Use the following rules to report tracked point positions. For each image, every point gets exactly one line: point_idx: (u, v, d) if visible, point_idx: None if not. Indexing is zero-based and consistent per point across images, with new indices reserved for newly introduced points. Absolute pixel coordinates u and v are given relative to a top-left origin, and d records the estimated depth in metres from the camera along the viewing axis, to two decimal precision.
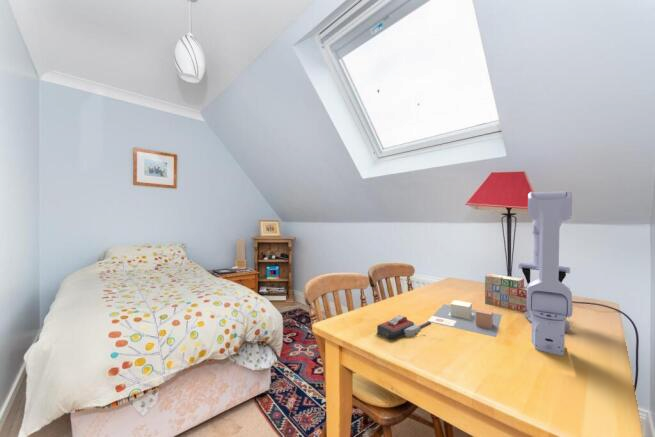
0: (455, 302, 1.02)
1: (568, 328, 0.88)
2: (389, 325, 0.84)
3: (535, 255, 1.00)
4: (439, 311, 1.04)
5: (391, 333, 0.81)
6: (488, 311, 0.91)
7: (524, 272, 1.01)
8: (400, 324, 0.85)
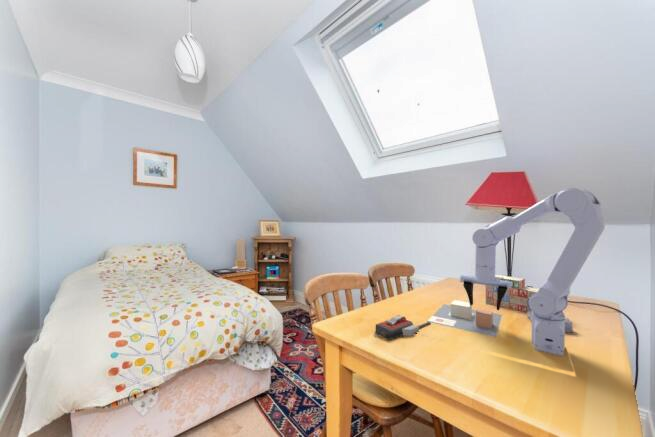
0: (455, 302, 1.02)
1: (571, 328, 0.88)
2: (387, 324, 0.85)
3: (476, 268, 0.91)
4: (439, 311, 1.04)
5: (388, 332, 0.81)
6: (488, 311, 0.91)
7: (465, 286, 0.92)
8: (398, 324, 0.85)
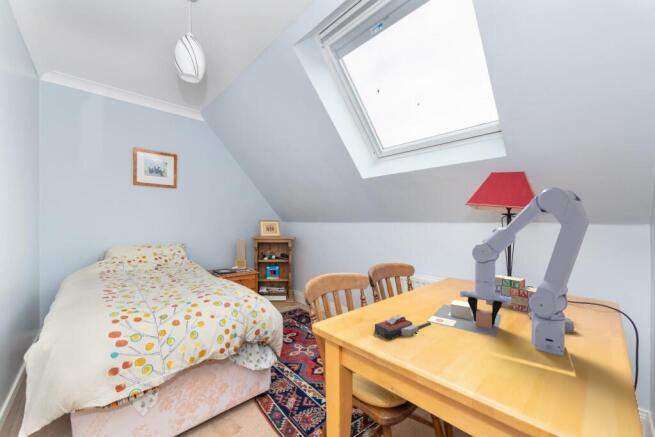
0: (455, 302, 1.02)
1: (572, 328, 0.88)
2: (386, 324, 0.85)
3: (476, 283, 0.91)
4: (439, 311, 1.04)
5: (387, 332, 0.82)
6: (488, 311, 0.91)
7: (469, 302, 0.92)
8: (398, 324, 0.85)
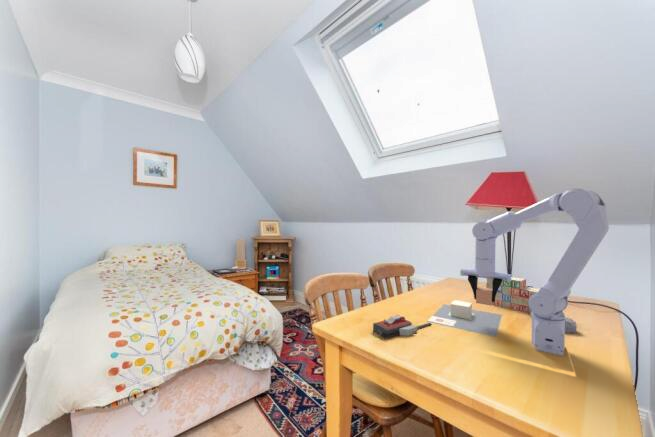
0: (455, 302, 1.02)
1: (575, 329, 0.88)
2: (384, 324, 0.86)
3: (476, 261, 0.91)
4: (439, 311, 1.04)
5: (384, 331, 0.82)
6: (488, 289, 0.91)
7: (469, 280, 0.92)
8: (396, 324, 0.86)
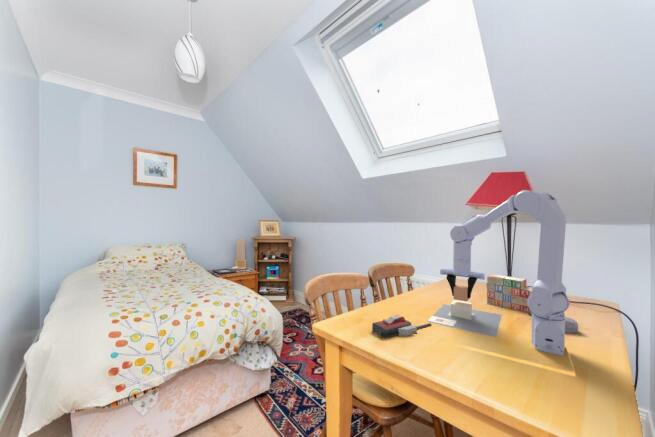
0: (455, 302, 1.02)
1: (576, 329, 0.87)
2: (383, 323, 0.86)
3: (454, 261, 1.01)
4: (439, 311, 1.04)
5: (383, 330, 0.82)
6: (464, 287, 1.00)
7: (448, 278, 1.01)
8: (395, 324, 0.86)
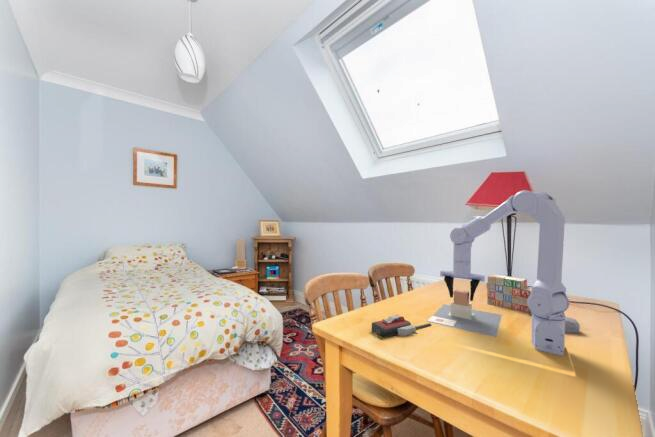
0: None
1: (578, 329, 0.87)
2: (383, 323, 0.86)
3: (454, 263, 1.01)
4: (439, 311, 1.04)
5: (382, 330, 0.83)
6: (464, 291, 1.00)
7: (445, 280, 1.02)
8: (395, 323, 0.86)
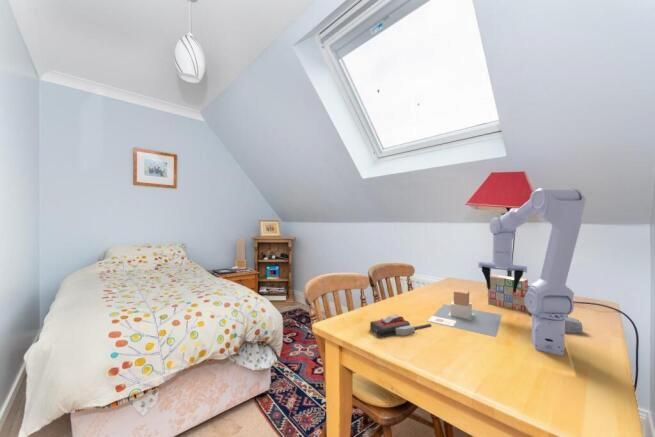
0: None
1: (581, 329, 0.87)
2: (381, 322, 0.87)
3: (494, 254, 0.99)
4: (439, 311, 1.04)
5: (379, 329, 0.83)
6: (464, 291, 1.00)
7: (483, 271, 1.00)
8: (393, 323, 0.86)
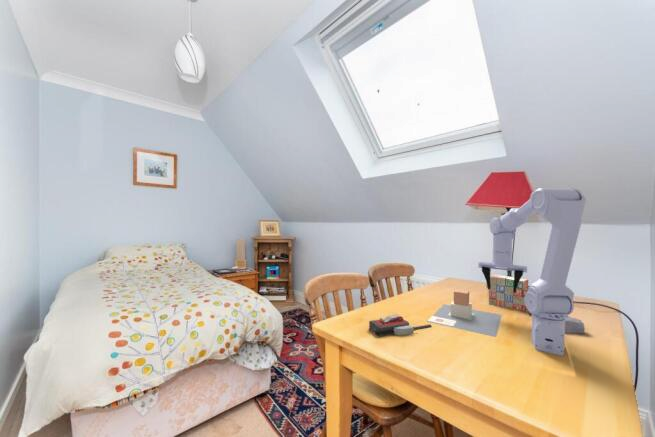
0: None
1: (583, 329, 0.87)
2: (380, 322, 0.87)
3: (494, 254, 0.99)
4: (439, 311, 1.04)
5: (377, 329, 0.84)
6: (464, 291, 1.00)
7: (483, 271, 1.00)
8: (392, 323, 0.86)
